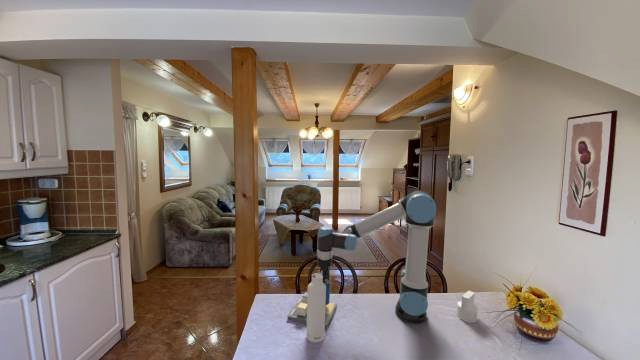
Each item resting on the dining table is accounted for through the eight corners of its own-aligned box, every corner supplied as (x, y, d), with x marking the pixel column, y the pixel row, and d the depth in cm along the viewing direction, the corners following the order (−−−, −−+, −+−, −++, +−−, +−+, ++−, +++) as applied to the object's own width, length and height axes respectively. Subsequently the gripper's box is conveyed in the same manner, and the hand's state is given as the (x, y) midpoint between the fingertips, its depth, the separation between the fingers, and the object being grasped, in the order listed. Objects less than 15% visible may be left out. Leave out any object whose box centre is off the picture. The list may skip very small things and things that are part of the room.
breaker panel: (336, 307, 137) (336, 303, 137) (326, 329, 120) (327, 324, 120) (301, 300, 143) (301, 296, 143) (287, 319, 126) (287, 315, 126)
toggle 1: (307, 311, 129) (308, 304, 129) (304, 316, 125) (305, 308, 125) (300, 310, 130) (300, 302, 130) (297, 314, 126) (297, 306, 126)
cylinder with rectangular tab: (472, 325, 126) (475, 301, 125) (453, 316, 133) (455, 293, 132) (479, 317, 132) (481, 295, 131) (460, 309, 139) (462, 288, 138)
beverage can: (325, 308, 129) (325, 285, 128) (314, 304, 133) (314, 281, 131) (331, 302, 135) (332, 280, 133) (320, 298, 138) (321, 276, 137)
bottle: (318, 345, 110) (320, 282, 107) (302, 338, 114) (304, 277, 111) (327, 333, 117) (329, 274, 114) (312, 327, 121) (313, 269, 118)
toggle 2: (312, 300, 139) (312, 293, 138) (309, 304, 135) (309, 297, 135) (305, 299, 140) (305, 292, 140) (302, 303, 136) (302, 295, 136)
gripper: (323, 249, 141) (321, 290, 144) (311, 263, 123) (309, 309, 125) (336, 251, 139) (335, 292, 142) (326, 266, 121) (324, 313, 123)
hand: (323, 300), depth 134 cm, fingers closed on beverage can, 6 cm apart
